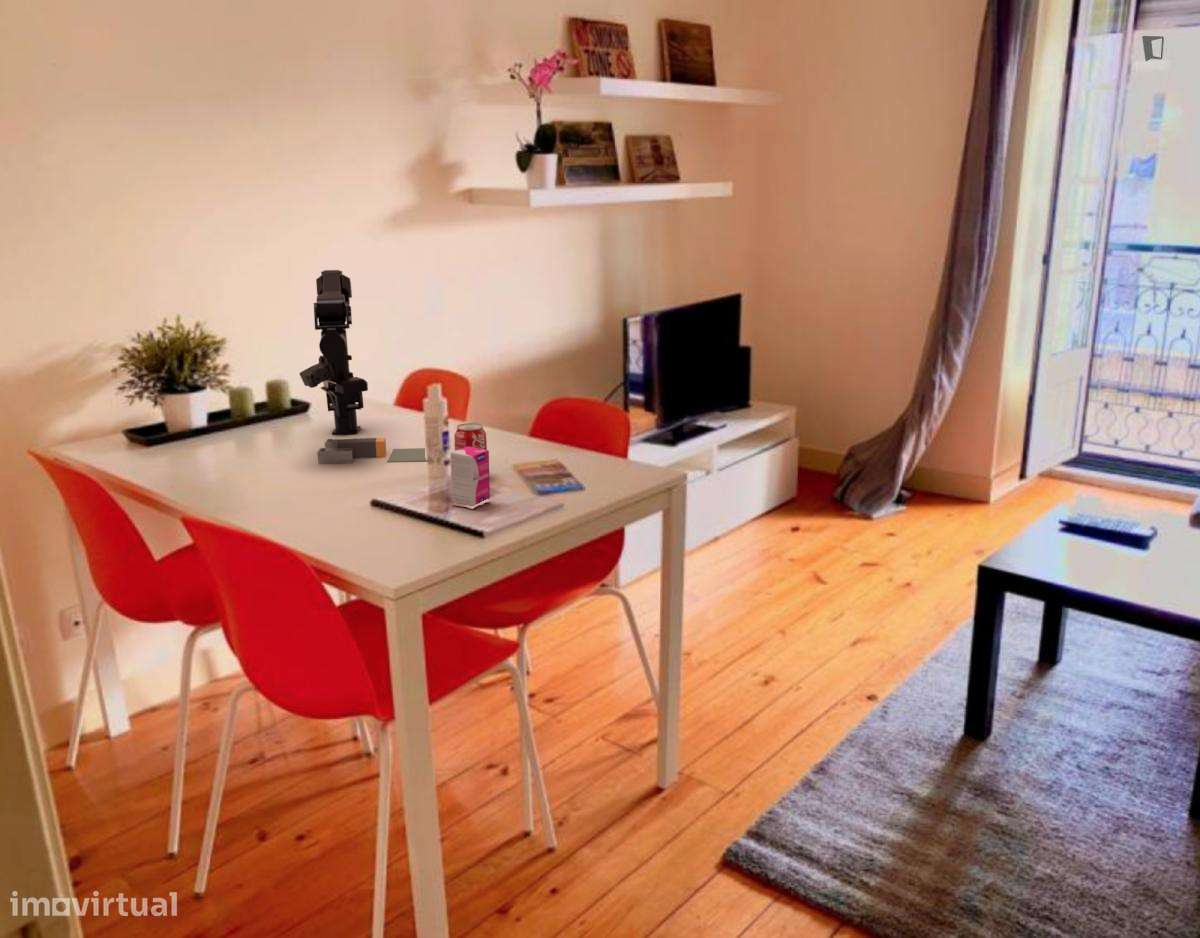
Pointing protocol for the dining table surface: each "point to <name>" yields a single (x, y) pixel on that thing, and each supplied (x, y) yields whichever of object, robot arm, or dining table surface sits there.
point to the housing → (335, 453)
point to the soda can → (470, 436)
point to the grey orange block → (365, 447)
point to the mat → (407, 455)
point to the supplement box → (470, 476)
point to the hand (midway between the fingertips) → (340, 416)
